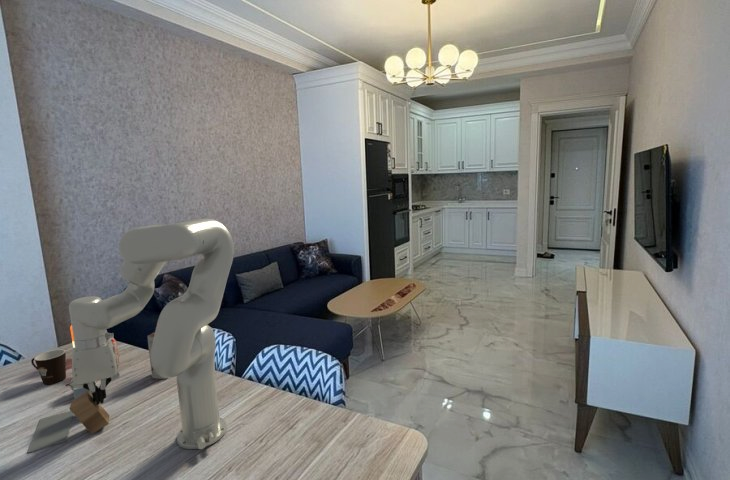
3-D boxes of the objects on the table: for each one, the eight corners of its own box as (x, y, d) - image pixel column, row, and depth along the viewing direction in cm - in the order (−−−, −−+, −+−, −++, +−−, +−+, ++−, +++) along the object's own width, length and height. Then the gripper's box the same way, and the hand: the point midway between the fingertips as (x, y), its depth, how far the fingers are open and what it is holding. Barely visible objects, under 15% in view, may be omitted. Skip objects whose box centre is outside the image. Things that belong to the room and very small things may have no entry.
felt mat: (66, 441, 103) (66, 440, 103) (27, 453, 99) (27, 452, 99) (74, 410, 117) (73, 409, 117) (40, 419, 113) (40, 419, 113)
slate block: (96, 415, 114) (91, 385, 113) (78, 421, 112) (73, 389, 110) (97, 408, 118) (93, 378, 117) (80, 413, 116) (75, 383, 114)
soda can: (111, 373, 141) (107, 342, 139) (93, 373, 141) (88, 343, 139) (124, 363, 148) (119, 334, 146) (106, 364, 148) (101, 335, 146)
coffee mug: (73, 378, 138) (69, 352, 136) (44, 389, 130) (39, 362, 129) (60, 370, 144) (56, 345, 142) (32, 380, 137) (27, 355, 135)
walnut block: (108, 423, 108) (87, 398, 104) (92, 434, 106) (69, 409, 102) (109, 415, 111) (88, 390, 108) (93, 425, 109) (71, 401, 106)
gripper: (123, 330, 112) (131, 387, 115) (59, 343, 104) (69, 403, 107) (122, 339, 106) (130, 399, 109) (54, 353, 98) (65, 417, 101)
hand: (100, 401), depth 108 cm, fingers closed
